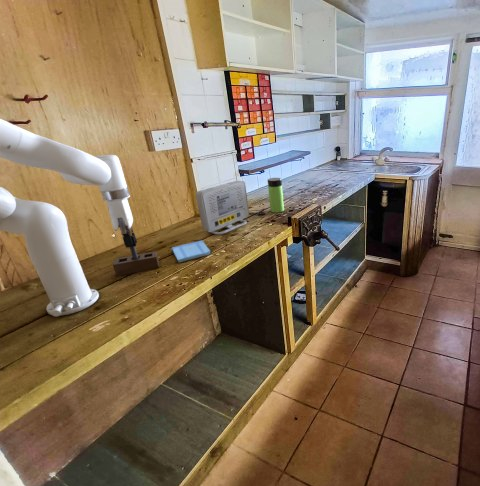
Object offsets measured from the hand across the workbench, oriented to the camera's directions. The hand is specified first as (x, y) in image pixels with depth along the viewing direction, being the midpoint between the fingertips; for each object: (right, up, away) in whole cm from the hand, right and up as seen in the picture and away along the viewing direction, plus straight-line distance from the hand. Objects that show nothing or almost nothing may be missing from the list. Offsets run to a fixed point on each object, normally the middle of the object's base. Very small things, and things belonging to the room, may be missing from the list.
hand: (131, 244), depth 109 cm
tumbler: (+42, +18, +62) cm, 77 cm away
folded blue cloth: (+14, -3, +16) cm, 21 cm away
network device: (+22, +8, +41) cm, 47 cm away
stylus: (0, -9, +4) cm, 10 cm away
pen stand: (0, -9, +4) cm, 10 cm away
